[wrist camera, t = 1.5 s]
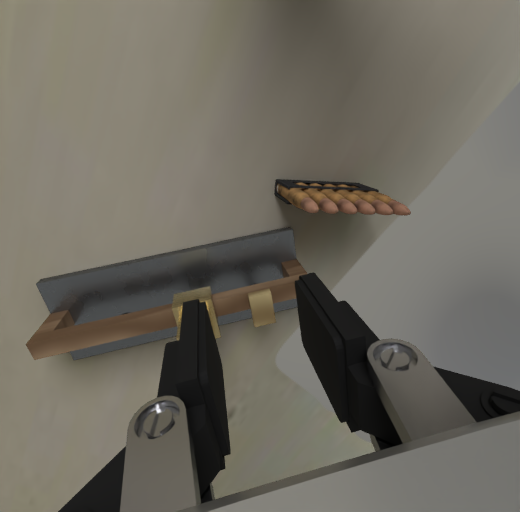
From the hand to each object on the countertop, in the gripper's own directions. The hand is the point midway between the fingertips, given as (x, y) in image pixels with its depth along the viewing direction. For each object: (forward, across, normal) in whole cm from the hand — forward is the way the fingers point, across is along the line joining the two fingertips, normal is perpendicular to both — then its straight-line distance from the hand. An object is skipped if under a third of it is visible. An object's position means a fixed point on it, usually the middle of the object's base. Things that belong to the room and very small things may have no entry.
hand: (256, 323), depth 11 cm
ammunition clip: (+28, -12, +2) cm, 30 cm away
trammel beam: (+26, +7, +12) cm, 30 cm away
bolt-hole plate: (+27, +7, +11) cm, 30 cm away
